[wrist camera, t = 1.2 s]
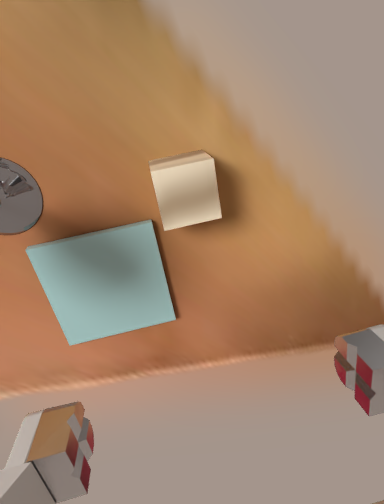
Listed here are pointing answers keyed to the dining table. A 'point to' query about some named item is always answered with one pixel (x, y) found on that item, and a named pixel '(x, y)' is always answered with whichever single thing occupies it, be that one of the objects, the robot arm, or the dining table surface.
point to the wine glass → (18, 199)
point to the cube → (186, 189)
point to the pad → (104, 281)
